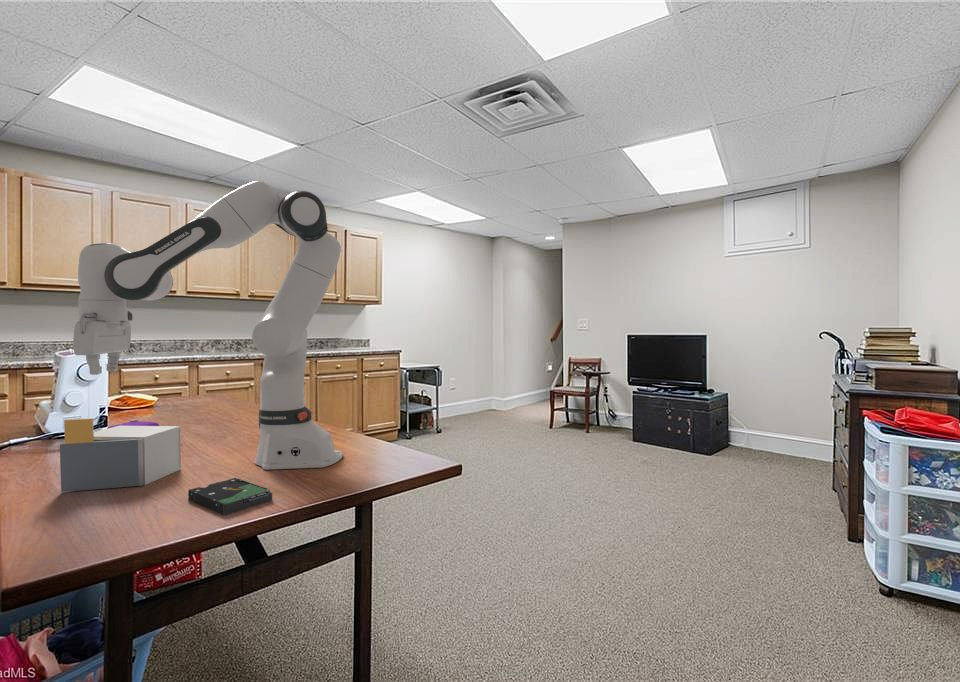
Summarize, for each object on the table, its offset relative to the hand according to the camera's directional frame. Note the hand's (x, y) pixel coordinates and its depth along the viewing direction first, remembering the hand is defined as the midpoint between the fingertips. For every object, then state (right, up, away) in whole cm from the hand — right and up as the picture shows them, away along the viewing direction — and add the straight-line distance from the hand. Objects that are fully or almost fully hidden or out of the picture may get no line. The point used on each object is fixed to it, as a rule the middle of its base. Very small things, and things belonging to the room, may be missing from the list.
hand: (104, 372), depth 114 cm
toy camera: (-6, -25, +21) cm, 33 cm away
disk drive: (+36, -27, -12) cm, 46 cm away
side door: (+4, -25, -5) cm, 26 cm away
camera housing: (+4, -25, +4) cm, 26 cm away
